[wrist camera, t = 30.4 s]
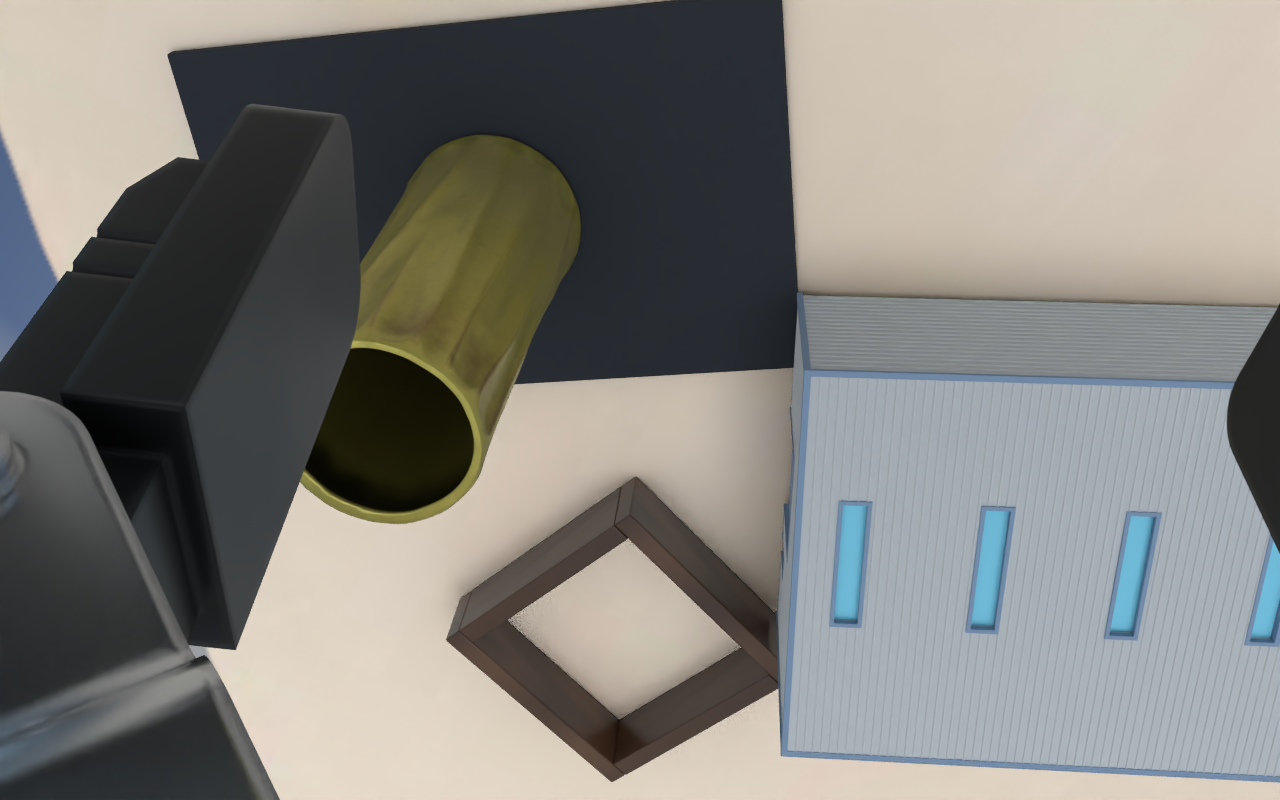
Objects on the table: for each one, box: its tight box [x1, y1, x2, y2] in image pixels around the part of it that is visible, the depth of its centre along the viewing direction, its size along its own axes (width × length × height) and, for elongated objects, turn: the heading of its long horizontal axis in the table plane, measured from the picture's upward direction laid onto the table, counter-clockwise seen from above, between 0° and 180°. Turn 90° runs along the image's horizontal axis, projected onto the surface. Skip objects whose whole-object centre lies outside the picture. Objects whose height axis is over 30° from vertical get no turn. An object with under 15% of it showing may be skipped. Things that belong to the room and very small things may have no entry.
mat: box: [168, 0, 798, 384], centre depth 40 cm, size 20×13×1 cm, turn 96°
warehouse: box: [776, 292, 1280, 782], centre depth 40 cm, size 30×14×8 cm, turn 90°
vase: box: [300, 135, 581, 524], centre depth 34 cm, size 6×6×14 cm
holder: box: [446, 477, 778, 782], centre depth 48 cm, size 10×10×3 cm
